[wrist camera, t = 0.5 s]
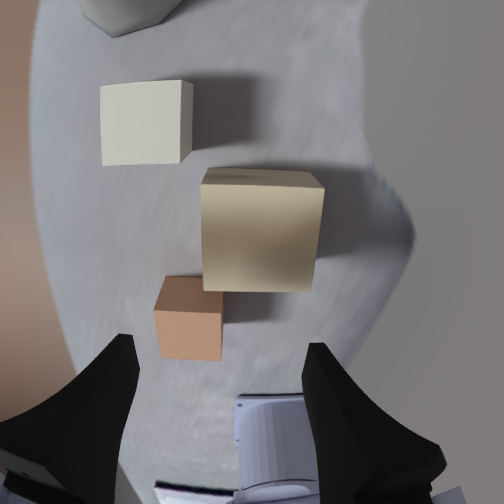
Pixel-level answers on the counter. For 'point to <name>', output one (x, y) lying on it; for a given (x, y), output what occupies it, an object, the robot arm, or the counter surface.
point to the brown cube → (189, 320)
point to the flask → (126, 14)
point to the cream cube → (146, 122)
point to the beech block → (259, 229)
